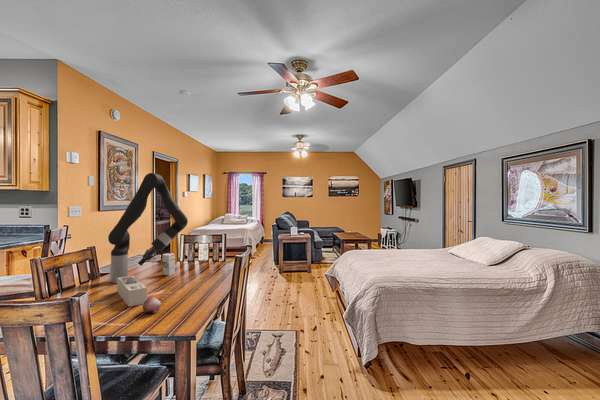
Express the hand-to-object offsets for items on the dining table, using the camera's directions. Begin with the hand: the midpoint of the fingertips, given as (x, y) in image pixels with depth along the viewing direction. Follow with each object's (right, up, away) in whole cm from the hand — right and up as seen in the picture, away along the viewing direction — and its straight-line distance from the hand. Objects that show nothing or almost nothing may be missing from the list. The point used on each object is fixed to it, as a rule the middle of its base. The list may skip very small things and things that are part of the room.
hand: (139, 264), depth 174 cm
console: (+2, -15, -12) cm, 20 cm away
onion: (+24, -15, -33) cm, 43 cm away
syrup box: (+2, -15, +35) cm, 38 cm away
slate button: (+2, -8, -13) cm, 15 cm away
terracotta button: (-5, -9, -4) cm, 11 cm away
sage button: (+9, -10, -21) cm, 25 cm away
